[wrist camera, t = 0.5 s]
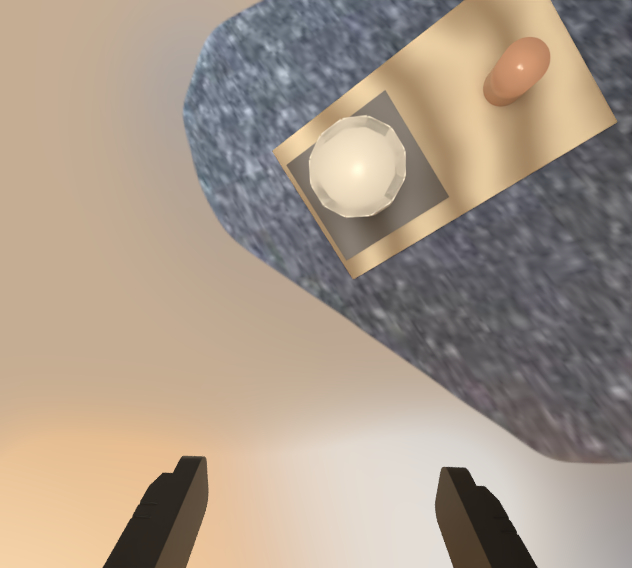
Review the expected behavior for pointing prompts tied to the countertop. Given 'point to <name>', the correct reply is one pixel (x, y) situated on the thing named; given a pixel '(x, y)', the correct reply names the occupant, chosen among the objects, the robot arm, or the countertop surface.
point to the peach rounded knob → (516, 71)
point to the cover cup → (357, 166)
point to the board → (455, 124)
